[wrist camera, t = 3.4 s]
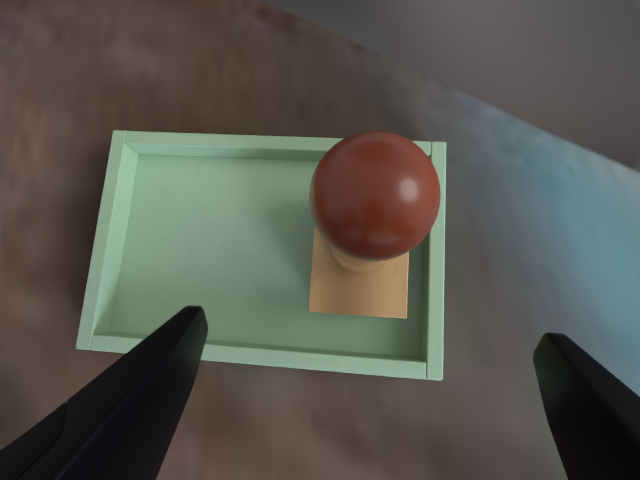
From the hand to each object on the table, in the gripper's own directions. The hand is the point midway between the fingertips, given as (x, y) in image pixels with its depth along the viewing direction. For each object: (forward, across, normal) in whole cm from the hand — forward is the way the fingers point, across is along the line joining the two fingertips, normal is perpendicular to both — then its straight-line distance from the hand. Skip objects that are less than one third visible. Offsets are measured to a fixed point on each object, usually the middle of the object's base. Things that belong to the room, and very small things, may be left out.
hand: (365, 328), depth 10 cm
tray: (+10, +5, +5) cm, 12 cm away
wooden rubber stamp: (+9, 0, +5) cm, 10 cm away
